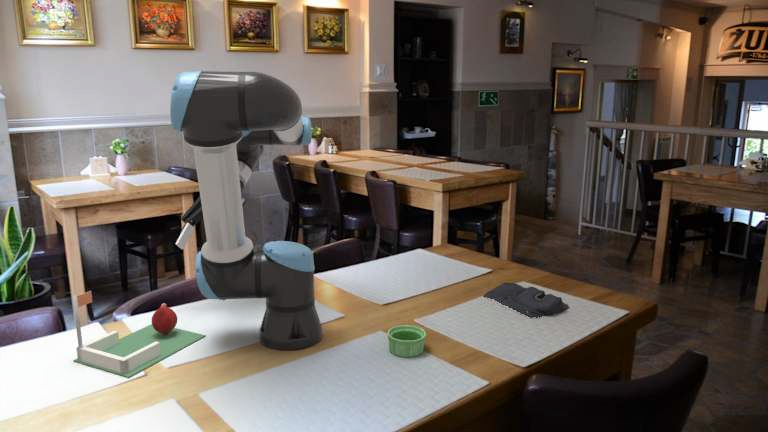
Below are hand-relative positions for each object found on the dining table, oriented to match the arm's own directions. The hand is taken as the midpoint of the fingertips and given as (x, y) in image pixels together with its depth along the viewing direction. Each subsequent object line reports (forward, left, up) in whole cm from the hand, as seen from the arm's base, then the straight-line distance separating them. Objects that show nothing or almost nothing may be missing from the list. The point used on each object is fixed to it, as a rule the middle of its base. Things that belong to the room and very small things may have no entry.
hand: (195, 249), depth 148 cm
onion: (0, +12, -19) cm, 22 cm away
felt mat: (0, +19, -19) cm, 27 cm away
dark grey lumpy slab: (-75, -50, -20) cm, 92 cm away
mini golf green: (0, +25, -19) cm, 32 cm away
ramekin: (-56, -7, -19) cm, 60 cm away
